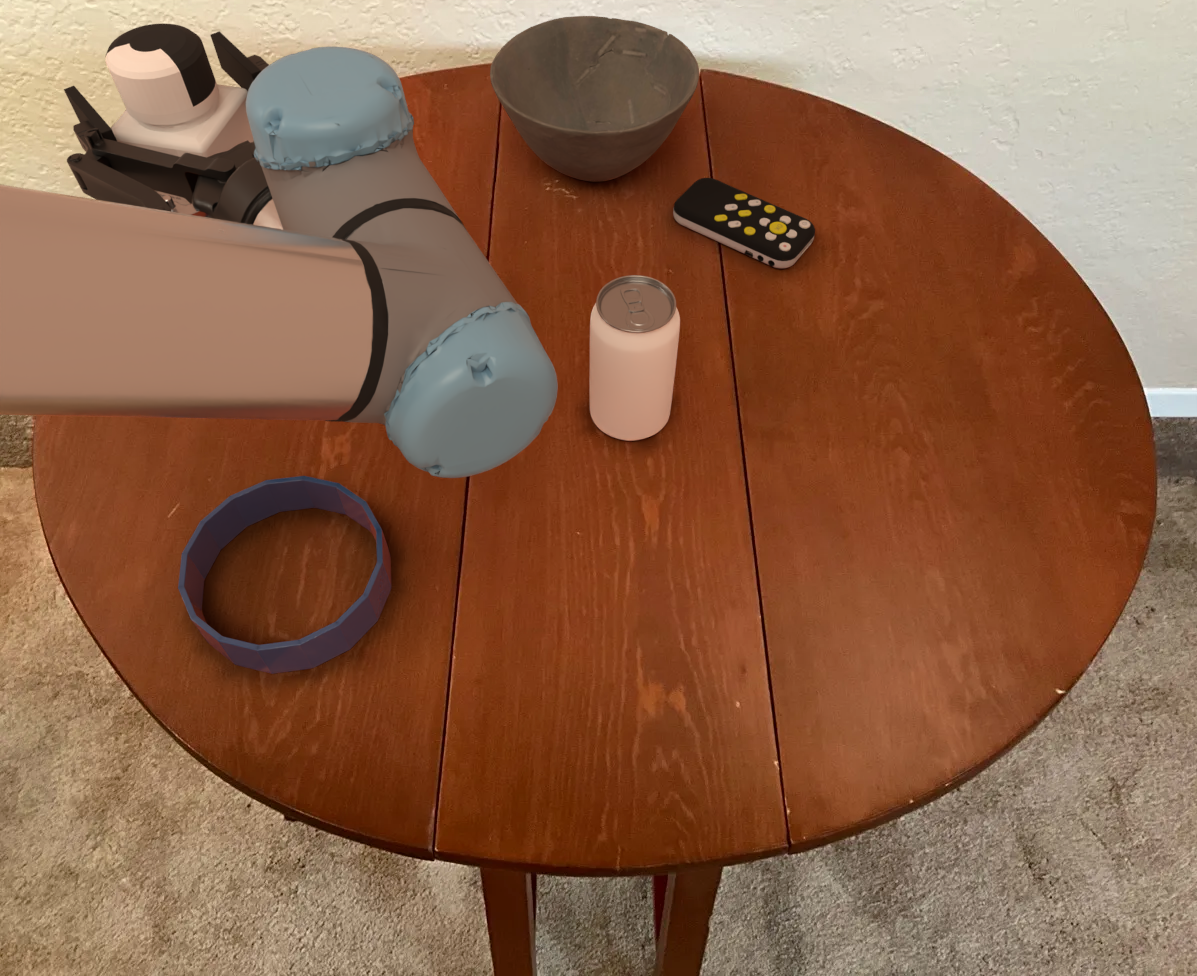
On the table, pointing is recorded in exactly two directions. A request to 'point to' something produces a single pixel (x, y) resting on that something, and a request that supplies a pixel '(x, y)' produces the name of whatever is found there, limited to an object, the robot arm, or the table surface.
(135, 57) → the container
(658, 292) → the can
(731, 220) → the remote control
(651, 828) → the table surface
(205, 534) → the ring
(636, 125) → the bowl
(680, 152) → the table surface
